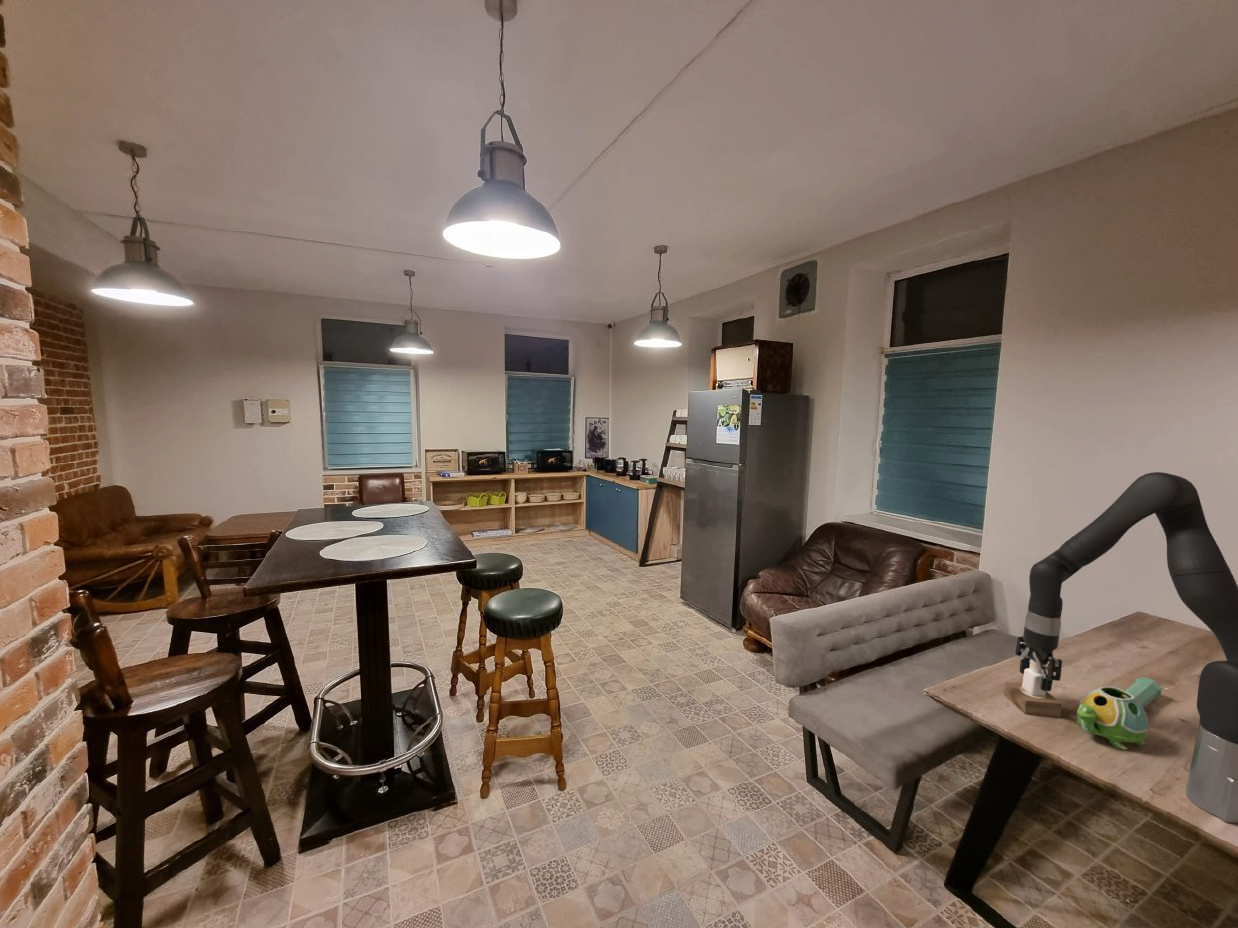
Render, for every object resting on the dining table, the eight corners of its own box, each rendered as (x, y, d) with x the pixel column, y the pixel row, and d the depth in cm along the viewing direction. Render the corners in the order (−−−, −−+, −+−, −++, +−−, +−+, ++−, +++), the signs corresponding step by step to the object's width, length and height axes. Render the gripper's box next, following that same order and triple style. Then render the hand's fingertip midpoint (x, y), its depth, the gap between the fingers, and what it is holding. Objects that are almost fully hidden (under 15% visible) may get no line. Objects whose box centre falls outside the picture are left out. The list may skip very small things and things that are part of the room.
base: (1060, 716, 136) (1062, 703, 135) (1024, 713, 137) (1026, 699, 136) (1036, 697, 145) (1038, 684, 144) (1003, 694, 146) (1005, 681, 145)
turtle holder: (1050, 724, 133) (1056, 683, 131) (1102, 716, 137) (1108, 676, 135) (1103, 756, 121) (1110, 712, 119) (1158, 747, 125) (1166, 704, 123)
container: (1127, 703, 133) (1157, 677, 145) (1099, 700, 138) (1131, 675, 150) (1135, 727, 132) (1166, 698, 144) (1107, 723, 137) (1138, 696, 149)
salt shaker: (1034, 688, 142) (1039, 657, 141) (1046, 696, 138) (1050, 665, 137) (1020, 687, 142) (1024, 657, 141) (1031, 696, 138) (1036, 664, 137)
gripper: (1076, 641, 130) (1068, 697, 132) (1038, 617, 144) (1031, 669, 146) (1045, 639, 131) (1037, 695, 133) (1010, 616, 145) (1004, 667, 147)
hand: (1034, 681), depth 140 cm, fingers open, 8 cm apart
